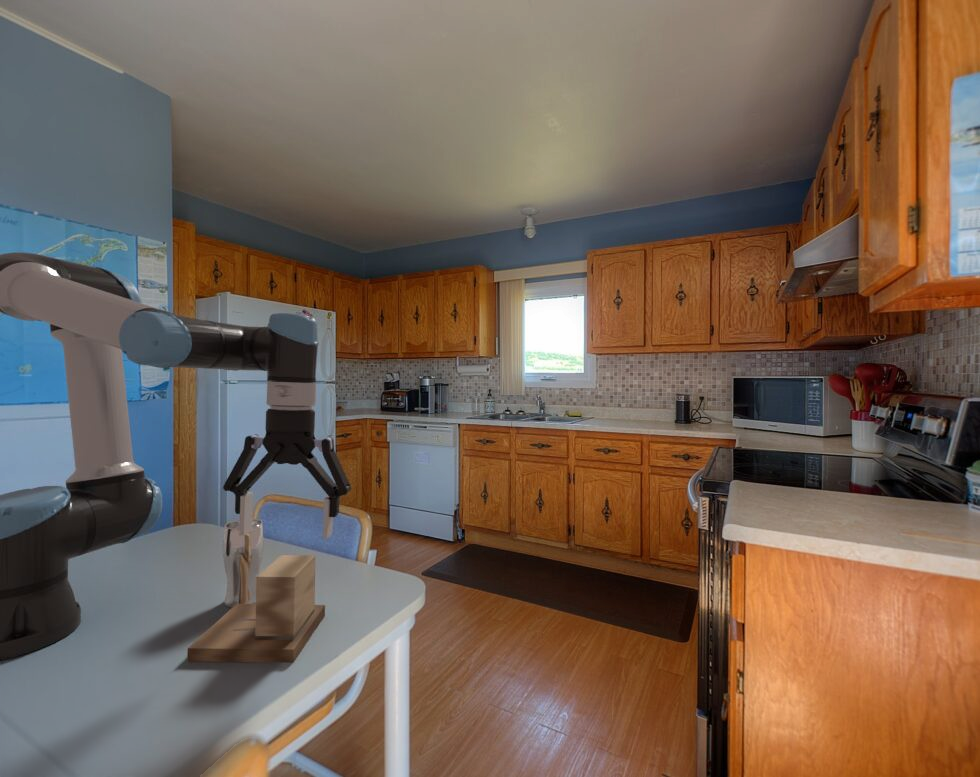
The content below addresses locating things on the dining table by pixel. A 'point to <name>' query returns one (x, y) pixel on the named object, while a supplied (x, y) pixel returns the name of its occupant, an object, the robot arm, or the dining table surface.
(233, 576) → the beer glass
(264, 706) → the dining table surface
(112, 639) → the dining table surface
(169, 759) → the dining table surface
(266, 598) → the block
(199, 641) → the board
